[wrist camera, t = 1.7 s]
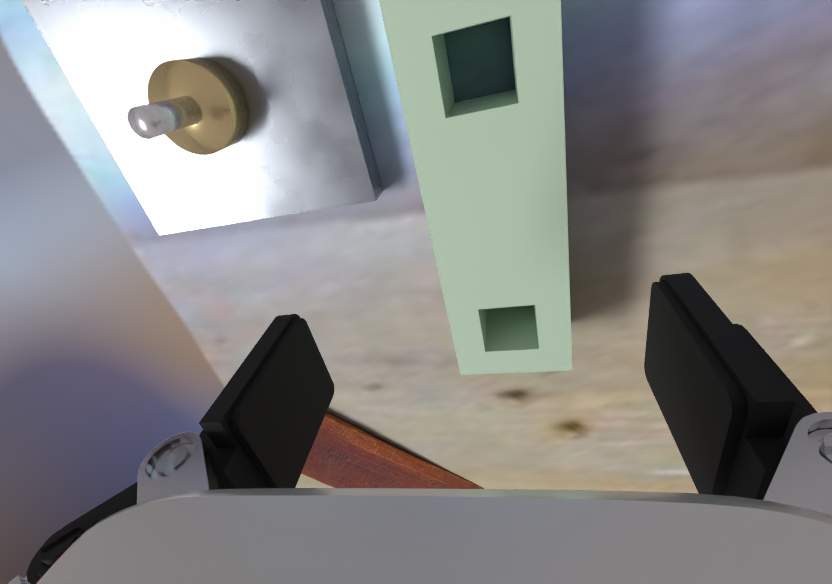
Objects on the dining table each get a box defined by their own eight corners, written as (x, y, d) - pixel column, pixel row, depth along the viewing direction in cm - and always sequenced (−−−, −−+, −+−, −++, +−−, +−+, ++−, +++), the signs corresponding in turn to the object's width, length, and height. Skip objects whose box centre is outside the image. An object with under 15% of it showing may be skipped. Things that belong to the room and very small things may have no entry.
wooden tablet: (225, 427, 38) (215, 442, 37) (252, 364, 33) (241, 379, 32) (464, 541, 42) (463, 558, 41) (525, 502, 37) (526, 521, 35)
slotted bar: (546, -42, 16) (558, -60, 13) (562, 324, 25) (572, 370, 22) (400, 0, 18) (377, -6, 14) (465, 331, 27) (460, 374, 23)
